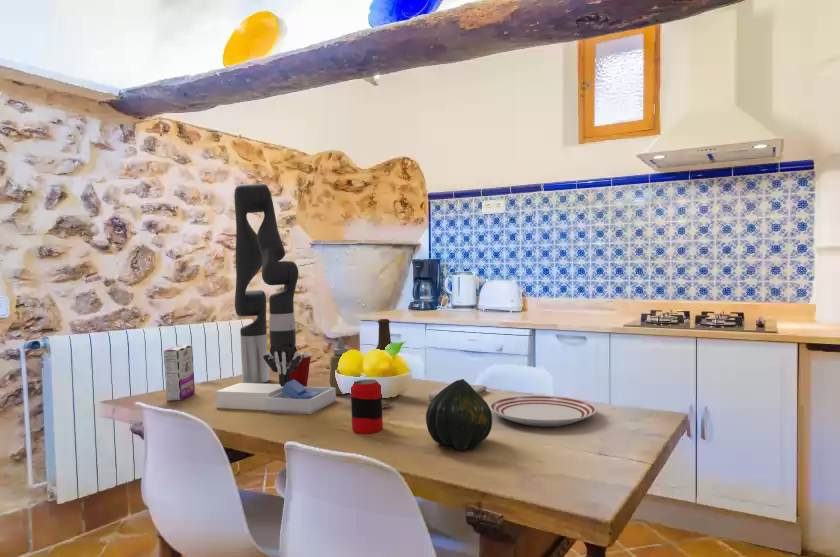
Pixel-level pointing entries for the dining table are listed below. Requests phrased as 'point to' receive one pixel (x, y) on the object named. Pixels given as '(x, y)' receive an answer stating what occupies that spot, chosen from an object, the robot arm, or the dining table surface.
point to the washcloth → (478, 388)
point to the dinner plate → (542, 410)
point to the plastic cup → (302, 370)
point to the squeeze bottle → (336, 364)
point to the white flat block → (246, 396)
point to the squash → (459, 416)
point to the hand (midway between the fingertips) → (284, 386)
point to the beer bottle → (383, 334)
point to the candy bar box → (179, 372)
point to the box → (301, 401)
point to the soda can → (366, 407)
